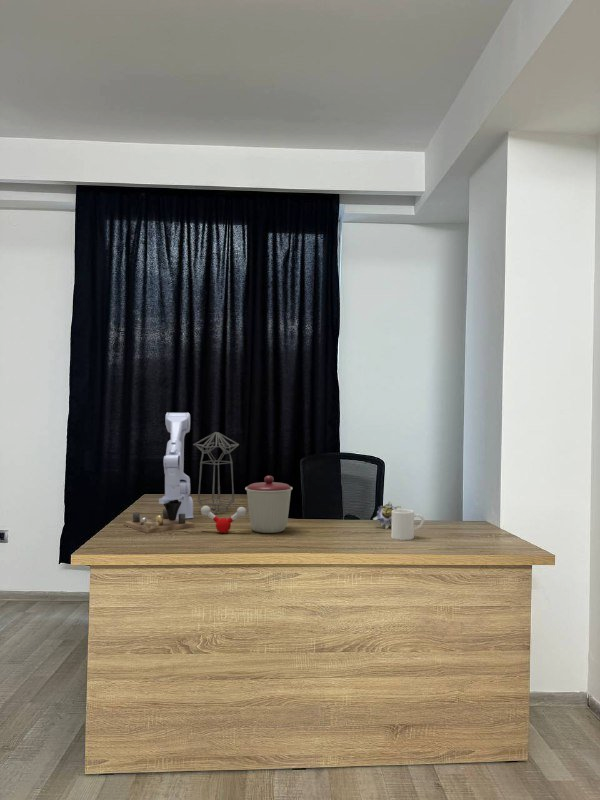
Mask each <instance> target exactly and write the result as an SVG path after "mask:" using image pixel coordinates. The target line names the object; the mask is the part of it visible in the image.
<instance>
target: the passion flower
mask: <svg viewBox="0 0 600 800" xmlns="http://www.w3.org/2000/svg"><path fill="white" fill-rule="evenodd" d="M377 509H378V510H377V511H376V516H374V517H373V518H372V520H373V521H379V526H380V527H384V530H387V529H389V527H390V526H392V510H396V509H402V508H401V505H398V506H394V505H393V503H392V502H391V501H389V502H388V503H386V504H384V505H380V506H377Z"/></svg>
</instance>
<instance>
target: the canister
mask: <svg viewBox="0 0 600 800" xmlns="http://www.w3.org/2000/svg"><path fill="white" fill-rule="evenodd" d="M263 479H264V482H263V481H262V482H254V483H251V484H249V485H247V486H245V488H244V489H245V491H246V495H247V506H248V515H249V523H250V527H251V530H253V532H256V533H260V532H261V534H275V533H276V534H277V533H281V532H284V531H285V530H286V528H287V525H288V519H289V511H290V503H291V493H292V490H293V486H291V485H289V484H288V483H285V482H284V483H283V482H275V481H274V480H275V479H274V476H272V475H266V476H265V477H264V478H263Z"/></svg>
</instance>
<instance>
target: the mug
mask: <svg viewBox="0 0 600 800" xmlns="http://www.w3.org/2000/svg"><path fill="white" fill-rule="evenodd" d="M415 517H417V518H420V519H421V521H420V523H419V524H418V525H417V526H415ZM425 521H426V520H425V518H424V516H423V515H422V514H420V513H416V514H415V512H414V510H412V509H403V508H400V509H396V510H392V524H391V535H390V536H391V538H392V539H393V540H399V541H411V540H413V539H414V537H415V533H414V532H415V531H416V530H418V529H421V528H422V527H423V526H424V523H425Z"/></svg>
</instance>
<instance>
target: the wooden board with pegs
mask: <svg viewBox="0 0 600 800" xmlns="http://www.w3.org/2000/svg"><path fill="white" fill-rule="evenodd" d="M140 514H141V513H140V512H132V520H127V521H123V526H124V525H125V527H127V526H128V528H130V527H131V528H130V529H133V528H134V530H136V529H137V530H136V531H139V530H140V532H142V531H143V533H145V534H153V532H154V533H160V532H159V531H162V532H167V531H166V530H170V531H175V530H174V529H178V530H183V529H182V528H185V529H191V528H192V527H193V528H195V523H194V522H190V521H187V520H186V519H185V514H179V519H177V518H176V520H175V521H170V520H169V517H168V513H167V510H166V508H164V509H162V516H163V525H158V522H156V517H153V518H152V517H151V518H147V522H144V525H142V524H141V515H140ZM148 522H151V523H148Z"/></svg>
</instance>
